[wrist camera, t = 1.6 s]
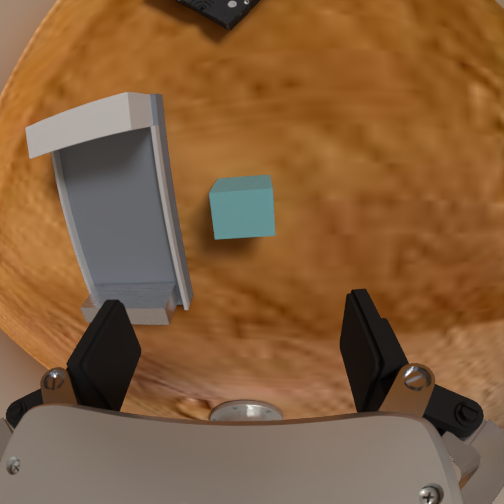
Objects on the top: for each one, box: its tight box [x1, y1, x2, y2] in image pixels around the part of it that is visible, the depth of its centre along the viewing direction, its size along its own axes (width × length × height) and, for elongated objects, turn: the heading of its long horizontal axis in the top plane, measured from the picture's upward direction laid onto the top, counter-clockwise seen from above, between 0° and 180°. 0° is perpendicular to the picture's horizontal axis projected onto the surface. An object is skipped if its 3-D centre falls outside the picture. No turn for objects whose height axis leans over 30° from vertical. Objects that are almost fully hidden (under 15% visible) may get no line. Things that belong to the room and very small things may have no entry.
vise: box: [25, 92, 193, 310], centre depth 26 cm, size 22×12×7 cm, turn 4°
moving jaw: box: [80, 283, 179, 325], centre depth 29 cm, size 2×10×4 cm, turn 94°
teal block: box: [209, 175, 275, 239], centre depth 26 cm, size 4×5×6 cm
